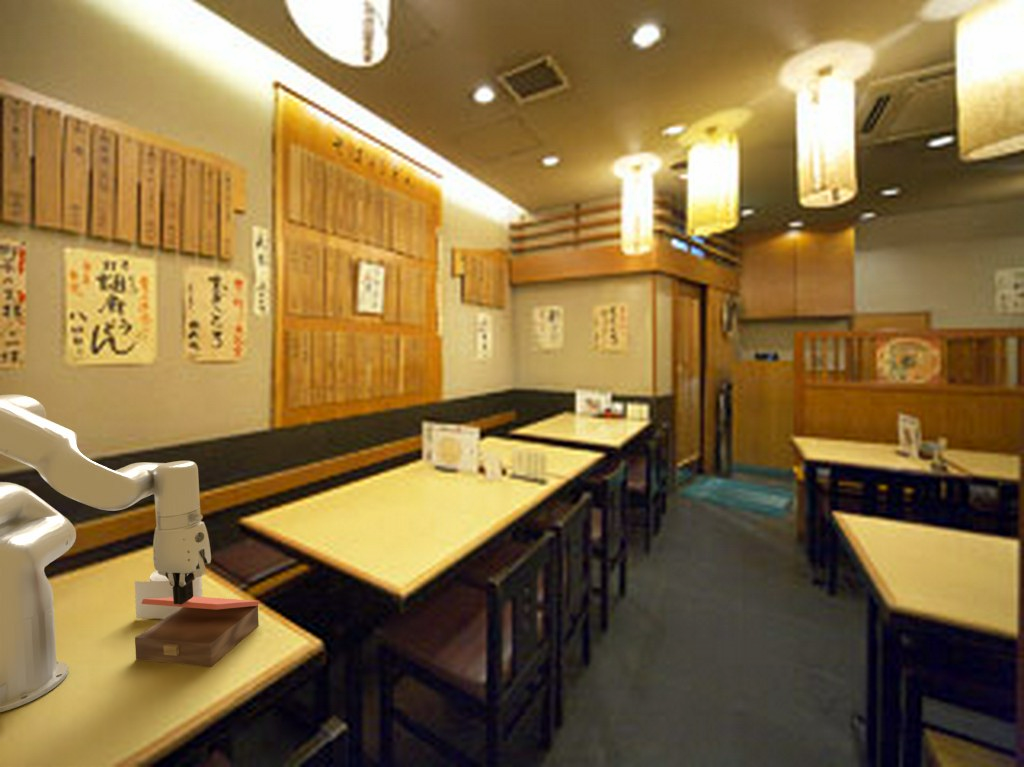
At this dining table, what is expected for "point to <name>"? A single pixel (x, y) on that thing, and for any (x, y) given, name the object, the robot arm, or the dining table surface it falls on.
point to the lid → (202, 602)
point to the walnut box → (196, 635)
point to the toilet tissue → (159, 596)
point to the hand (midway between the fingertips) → (183, 600)
